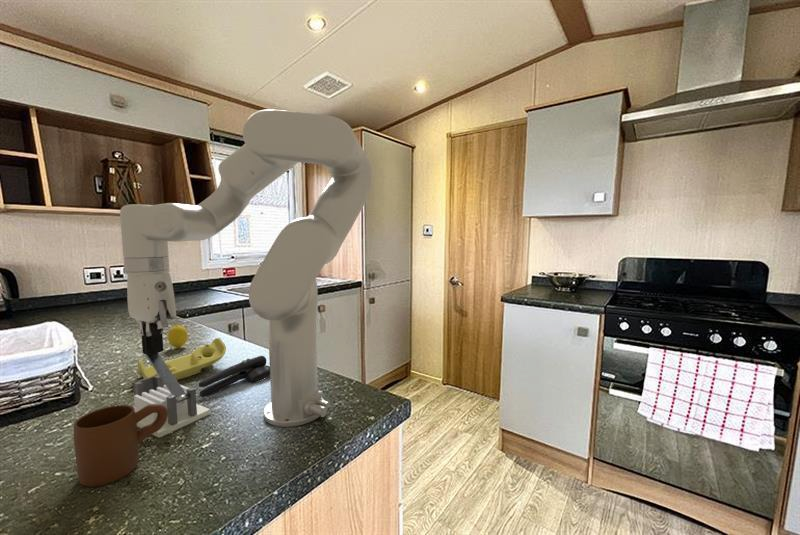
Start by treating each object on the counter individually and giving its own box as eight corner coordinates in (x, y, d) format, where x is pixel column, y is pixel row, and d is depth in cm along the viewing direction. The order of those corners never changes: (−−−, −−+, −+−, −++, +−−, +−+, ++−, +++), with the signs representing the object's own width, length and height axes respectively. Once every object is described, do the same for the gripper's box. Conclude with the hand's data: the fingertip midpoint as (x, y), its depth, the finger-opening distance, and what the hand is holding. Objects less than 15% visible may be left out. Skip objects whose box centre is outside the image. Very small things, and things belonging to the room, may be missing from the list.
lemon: (171, 346, 118) (170, 323, 117) (190, 344, 120) (188, 322, 119) (166, 351, 113) (164, 327, 112) (185, 350, 114) (184, 326, 113)
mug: (166, 440, 64) (162, 391, 63) (175, 460, 59) (171, 406, 58) (77, 471, 56) (72, 415, 55) (78, 497, 51) (72, 435, 50)
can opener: (262, 370, 98) (261, 351, 97) (275, 377, 93) (274, 356, 93) (193, 393, 84) (191, 370, 84) (205, 401, 80) (203, 378, 79)
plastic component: (148, 381, 85) (136, 356, 90) (149, 403, 88) (137, 377, 93) (231, 354, 99) (217, 333, 104) (230, 373, 102) (216, 352, 108)
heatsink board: (210, 413, 74) (208, 384, 73) (158, 437, 65) (156, 404, 64) (171, 397, 81) (169, 370, 81) (120, 417, 73) (118, 387, 72)
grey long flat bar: (188, 399, 71) (190, 395, 70) (175, 404, 68) (176, 401, 68) (157, 352, 75) (158, 349, 75) (143, 356, 73) (144, 353, 73)
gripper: (186, 266, 71) (191, 353, 73) (148, 262, 78) (154, 342, 80) (145, 269, 65) (151, 365, 66) (108, 265, 72) (115, 352, 74)
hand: (153, 352), depth 73 cm, fingers closed
